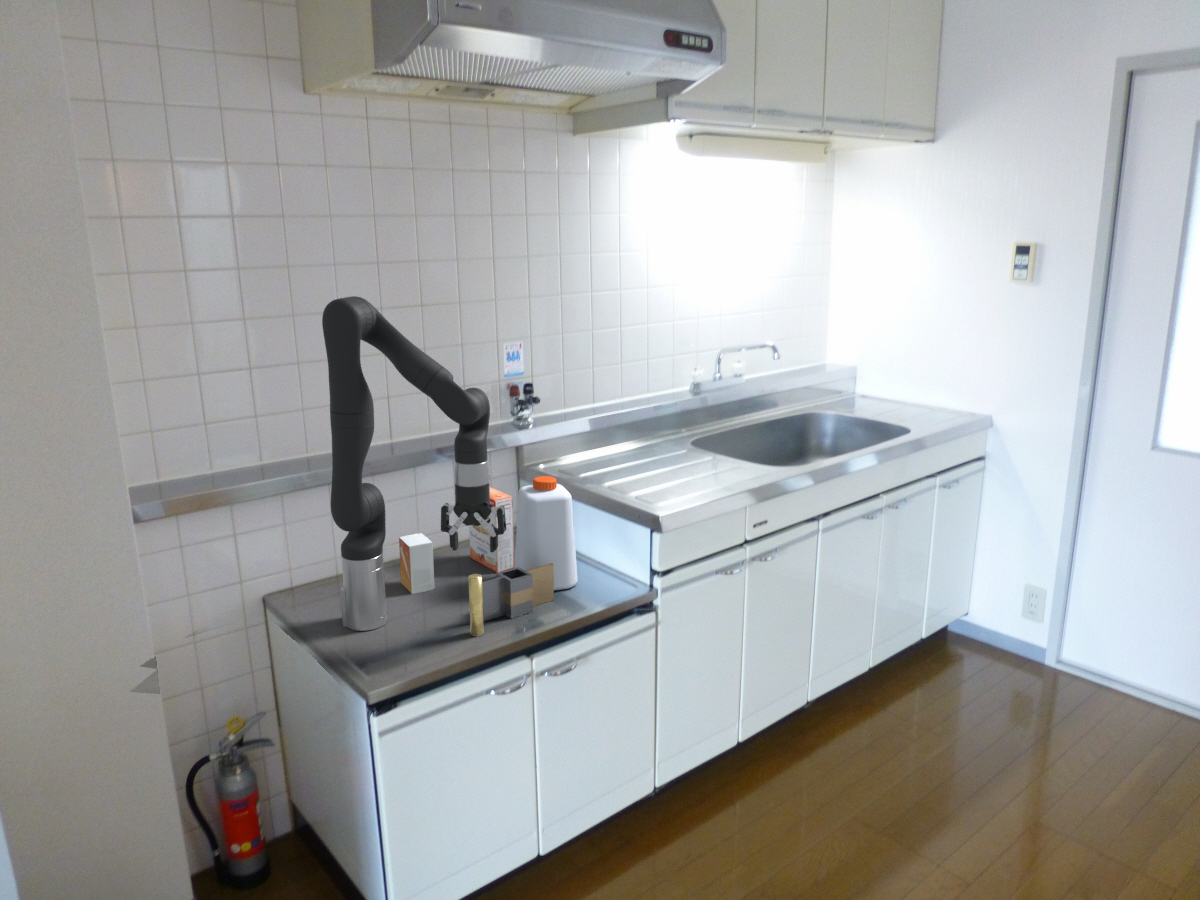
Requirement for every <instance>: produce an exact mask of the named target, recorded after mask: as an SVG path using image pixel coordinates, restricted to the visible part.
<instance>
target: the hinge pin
mask: <svg viewBox="0 0 1200 900" xmlns="http://www.w3.org/2000/svg"><path fill="white" fill-rule="evenodd" d="M482 582H483V575H482V574H479V573H473V574H470V575H468V598H469V599H468V602H469V603H468V604H469V627H470V628H469V632H470V636H471V635H474V636H477V635H481V634H483V633H485V632H484V631H485V628H484V626H485V625H484V622H483V592H482ZM483 635H484V634H483ZM474 636H473V637H474Z"/></svg>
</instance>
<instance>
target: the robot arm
mask: <svg viewBox="0 0 1200 900" xmlns="http://www.w3.org/2000/svg"><path fill="white" fill-rule="evenodd" d="M321 324H322V331H323V332H322V333H323V339H324V346H325V351H326V358H327V366H328V367H327V368H328V369H327V370H328V371H327V372H328V386H329V388H328V389H329V390H328V391H329V417H330V418H329V419H330V431H331V433H330V434H331V461H332V463H331V464H332V466H331V467H332V468H331V469H332V472H331V486H330V487H331V488H330V489H331V490H330V514H331V517H332V519H333V522H334V524H336V526H337V527H338V528H339V529H340V530H341V531H343V532H344V531H345V532H348V533H347V535H346V536H345V538H344V539H343V541H342V542H341V545H340V553H341V554H340V556H341V568H342V583H343V585H341V587H340V591H339V593H340V602H341V603H340V604H341V605H340V606H341V619H342V627H344V628H348V629H350V630H353V631H358V632H359V631H360V632H362V631H372V630H377V629H379V628H381V627H383V626H385V624H386V623H387V622H388V617H387V615H388V613H387V601H386V600H387V599H386V583H385V568H384V567H385V564H384V552H383V551H384V548H383V546H384V543H385V539H386V529H387V528H386V504H385V499H384V496H383V494H382V492H381V490H380V489H379V488H378V486H376V485H375V484H373V483H370V482H363V469H364V465H365V461H366V458H367V455H368V453H369V449H370V446H371V444H372V441H373V437H374V432H375V408H374V407H375V406H374V400H373V396H372V391H371V389H370V388H369V385H368V382H367V381H366V378H365V376H364V372H363V369H362V364H361V341H363V342H365V343H367V344H369V345H370V346H372V347H374V348H375V349H377V350H378V351H379V352H380V353H382V354H383V355H384V357H386V358H387V359H388V360H389V361H390V363H391V364H392V365H393V366H394V368H395V369H396V370H397V371H398V373H399V374H400V375H401V376H402V377H403V378H404V379H405V380H406V381H407V382H408V383H410V384H411V386H414V388H416V389H417V390H419V391H421V392H422V393H423V394H425V395H426V396H428V397H429V398H430V399H431V400H432V401H433V402H434V404H435V405H436V406H437V407H438V408H439V409H440V410H441V411H442V413H444V415H445V416H446V417H448V418H449V419H450V420H451V421H453V422H455V423H457V424H459V425H458V428H459V429H458V432H457V434H456V436H455V438H454V442H453V443H454V444H453V445H454V446H453V447H454V467H453V468H454V469H453V477H454V478H453V479H454V482H453V483H454V501H455V503H454V505H452V504H449V503H448V502H445V503H444V504H443V505H442V506H441V507H440V532H443V533H444V532H445V533H447V534H448V535H449V547H450V548H451V549H452V551H454V552H455V551H457V550H458V549H459V532H458V530H459V529H460V527H461V526H462V524H463V525H464V526H466V527H467V526H468V527H469V525H474V526H480V525H482V526H483V527H484V529H485V530H487V531H488V532H489V534H490V535H491V536H490V552H494V551H495V550H496V549H497V548H498V535H500V534H501V535H502V534H504V532H505V531H506V518H505V507H504V506H503V505H501V506H500V507H492V506H491V505H490V488H489V487H490V480H491V479H490V469H489V464H488V463H489V462H488V461H489V460H488V444H487V438H488V433H489V424H490V419H491V418H490V415H491V406H490V400H489V398H488V395H487V393H485V391H483V390H482V389H480V388H479V387H469V388H468V387H467V388H466V389H463V388H462V387H461V386H460V385H459V384H457V383H456V382H455V381H454V375H453V373H451V371H449V370H448V369H447V368H446V367H444V366H443V365H442V364H441V363H439V362H438V361H436V360H435V359H433V357H431V356H429V355H428V354H426V353H425V352H424V351H423V350H421V349H420V348H419V347H418V346H416V345H415V344H414V343H413V342H412V341H410V340H409V339H408V338H407V337H406V336H404V335H403V333H401V332H400V331H399V330H398V329H397V328H396V327H395V326H394V325H393V324H392V323H391V322H390V321H389V320H388V319H386V318H385V316H384V315H383V314H382V313H381V312H380V311H379V310H378V309H377V308H376V307H375V306H374V305H373V304H372V303H371V302H369V300H367V299H366V298H363V297H361V296H347V297H341V298H337V299H333V300H331V301H330V302H328V303H327V305H326V306H325V307H324V310H323V312H322V319H321ZM453 512H454V514H455V515H456V517H457V518H458V519H457V520H456V521H455V522H454V523H453V525H450V515H451V514H452V513H453ZM491 512H493V513H494V515H495V517H497V520H498V528H497V527H496V526H495V525H494V523H493V521H492V520H491V518H490V517H489V515H490V514H491Z"/></svg>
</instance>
